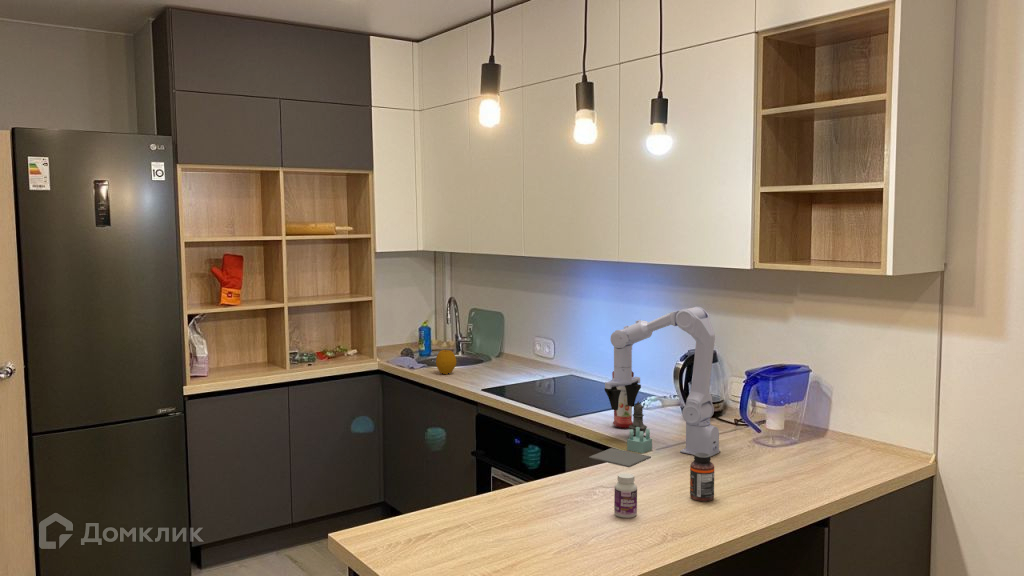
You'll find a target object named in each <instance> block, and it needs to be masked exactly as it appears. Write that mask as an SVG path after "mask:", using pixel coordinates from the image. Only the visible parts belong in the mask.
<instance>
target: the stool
mask: <svg viewBox="0 0 1024 576" xmlns="http://www.w3.org/2000/svg"><path fill="white" fill-rule="evenodd" d="M644 434H645V435H644ZM628 436H629V438H627V439H626V451H628V452H633V453H638V454H642V455H644V454H645V453H647V452H650V451H652V450H653V439H652V438H651V429H650V428H646V431H645V433H644V432H643V431H640V427H636V436H635V437H633V429H630V428H629V435H628ZM644 436H646V438H645V437H644Z"/></svg>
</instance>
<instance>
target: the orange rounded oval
mask: <svg viewBox="0 0 1024 576" xmlns="http://www.w3.org/2000/svg"><path fill="white" fill-rule="evenodd" d="M456 357H457V356H456V355H455V353H454V352H453V351H452V350H449V349H443V350H440V351H439V352H438V353H437V355H436V357H435V365H436V368H437V370H438V371H439V374H441V373H443V374H448V373H450V374H451V373H453V371H454V369H455V368H456V366H457V358H456ZM443 374H442V375H443ZM448 375H449V374H448Z"/></svg>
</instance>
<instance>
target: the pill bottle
mask: <svg viewBox="0 0 1024 576" xmlns="http://www.w3.org/2000/svg"><path fill="white" fill-rule="evenodd" d="M616 481H617V482H616V483H615V485H614V494H613V495H614V498H613V500H614V501H613V502H614V507H613V508H614V509H613V510H614V516H616V517H618V518H624V519H631V518H635V517H636V516H637V513H638V486H637V484H636V483H635V475H634V474H633V473H629V472H620V473H618V474H617V480H616Z"/></svg>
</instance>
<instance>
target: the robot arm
mask: <svg viewBox="0 0 1024 576" xmlns="http://www.w3.org/2000/svg"><path fill="white" fill-rule="evenodd" d="M710 319H711V317H710V314H709V313H708V312H707V311H706V310H705V309H704V308H702V307H701V306H693V307H690V308H683V309H680V310H675V311H671V312H668V313H666V314H664V315H662V316H659V317H658V318H655V319H653V320H651V321H646V320H641V319H638V320H635V323H633V324H630V325H629V326H628V325H625V326H623V329H616V330H615V331H613V332H612V333H611V335H610V344H611V345H612V346H613V371H614V378H612V380H609V381H606V382H604V392H605V394H606V395H607V398H608V400H609V403H610V408H611V410H613V411H614V410H618V403H619V396H620V392H621V390H618V389H617V388H616V387H620V386H625V388H626V392H627V404H628V406H631V407H632V408H634V405H635V403H636V399H637V396H638V394H639V392H640V390H641V388H642V385H641V377H639V376H634V377H632V372H633V369H632V368H633V364H632V363H633V361H632V360H633V358H632V357H633V355H632V354H633V351H632V350H633V345H634V344H636V343H638V342H641V341H644V340H647V339H648V338H651V337H652V335H653V332H655V331H658V330H660V329H663V328H666V327H669V326H674V327H678V328H679V329H681V330H682V331H684V332H685V333H687V334H688V335H690V336H691V337H692V339H694V340H695V350H694V357H693V358H694V359H693V367H692V376H691V377H692V378H691V388H690V393H689V394H688V396H687V398H686V400H685V401H686V402H685V404H684V407H683V408H682V412H681V414H682V419H683V420H684V421H685V448H683V449H681V450H679V452H680V453H682V454H683V453H684V454H688V455H693V456H694V454H695V453H708V454H710V456H711V457H712V456H715V455H716V454H719V453H720V452H721V451H720V431H719V428H718V427H717V426H716V425H713V424H711V418H712V416H713V415H714V414H715V413H714V412H715V409H714V405H713V397H712V395H711V394H710V388H711V377H712V368H713V359H714V351H715V350H714V349H715V340H716V334H715V331H714V329H713V327H712V324H711V321H710Z"/></svg>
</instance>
